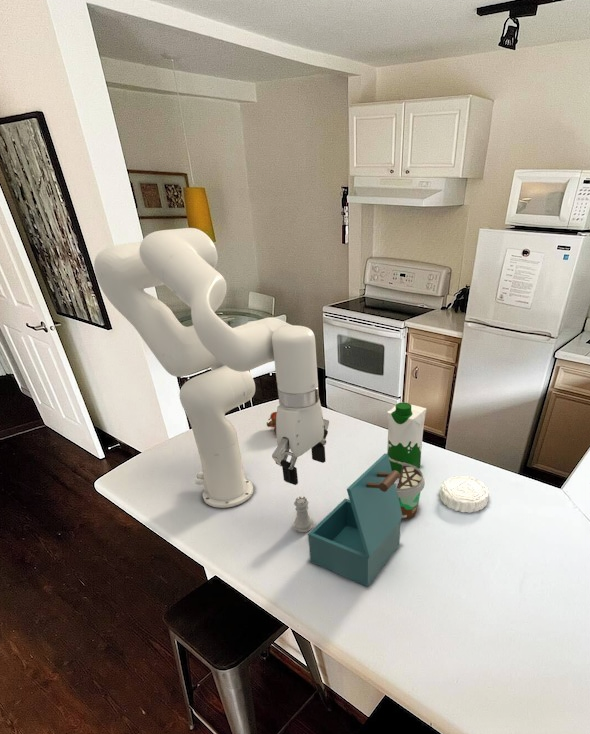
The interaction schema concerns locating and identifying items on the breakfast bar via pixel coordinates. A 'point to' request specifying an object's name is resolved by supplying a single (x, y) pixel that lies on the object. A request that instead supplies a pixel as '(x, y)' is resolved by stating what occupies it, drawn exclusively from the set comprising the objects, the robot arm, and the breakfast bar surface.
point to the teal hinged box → (348, 546)
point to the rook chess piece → (302, 515)
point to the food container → (409, 490)
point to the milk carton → (405, 435)
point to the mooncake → (464, 494)
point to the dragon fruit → (272, 420)
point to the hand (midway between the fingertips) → (305, 471)
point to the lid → (375, 503)
